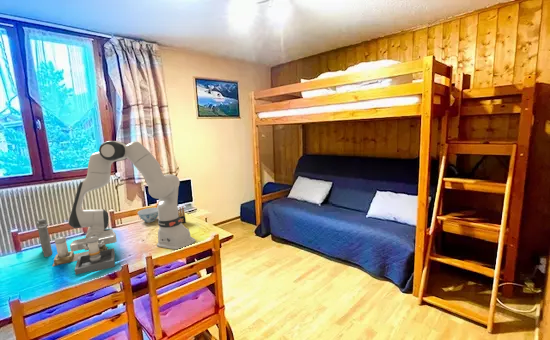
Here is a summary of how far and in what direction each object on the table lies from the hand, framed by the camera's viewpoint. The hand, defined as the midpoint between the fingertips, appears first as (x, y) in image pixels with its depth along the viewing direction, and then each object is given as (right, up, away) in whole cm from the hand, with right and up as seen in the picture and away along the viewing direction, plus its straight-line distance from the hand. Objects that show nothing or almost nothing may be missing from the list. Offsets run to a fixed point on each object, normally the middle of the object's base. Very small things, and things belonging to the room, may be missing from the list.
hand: (93, 247), depth 140 cm
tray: (0, -9, +2) cm, 10 cm away
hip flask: (-38, -9, +19) cm, 43 cm away
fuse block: (-13, -9, +11) cm, 19 cm away
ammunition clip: (+23, +1, +55) cm, 60 cm away
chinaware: (0, +1, +65) cm, 65 cm away
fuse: (-20, -9, +7) cm, 23 cm away
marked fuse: (0, -7, +2) cm, 7 cm away
